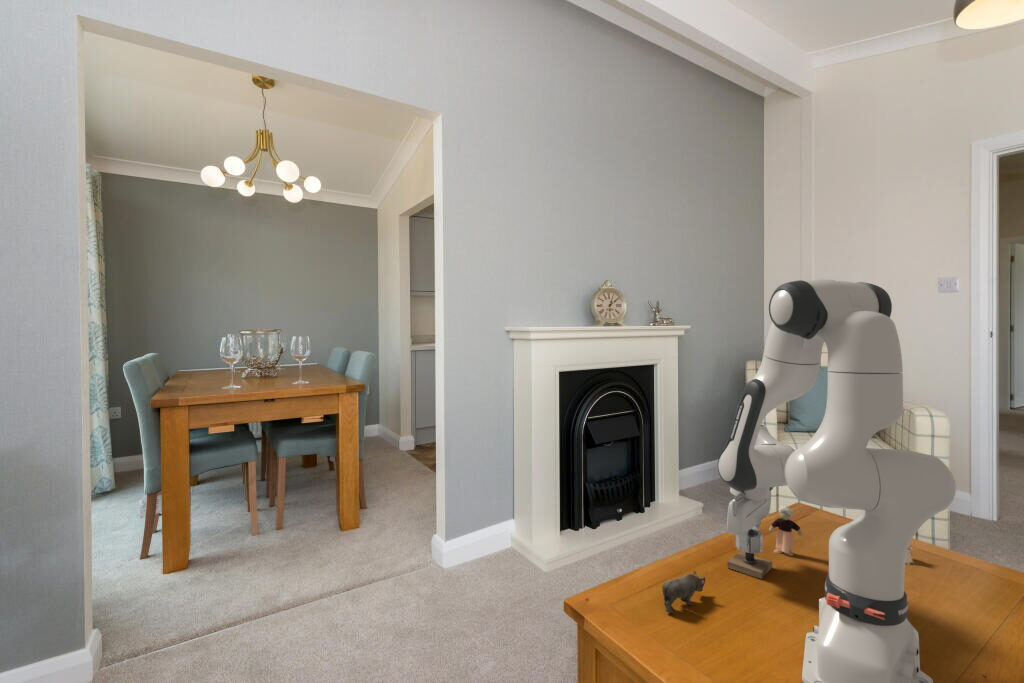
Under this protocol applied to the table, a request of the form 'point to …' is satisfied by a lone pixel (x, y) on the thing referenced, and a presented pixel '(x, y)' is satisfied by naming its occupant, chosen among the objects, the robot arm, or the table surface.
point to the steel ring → (752, 543)
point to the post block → (750, 563)
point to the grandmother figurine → (784, 531)
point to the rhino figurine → (681, 589)
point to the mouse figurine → (909, 556)
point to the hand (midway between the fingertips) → (749, 541)
